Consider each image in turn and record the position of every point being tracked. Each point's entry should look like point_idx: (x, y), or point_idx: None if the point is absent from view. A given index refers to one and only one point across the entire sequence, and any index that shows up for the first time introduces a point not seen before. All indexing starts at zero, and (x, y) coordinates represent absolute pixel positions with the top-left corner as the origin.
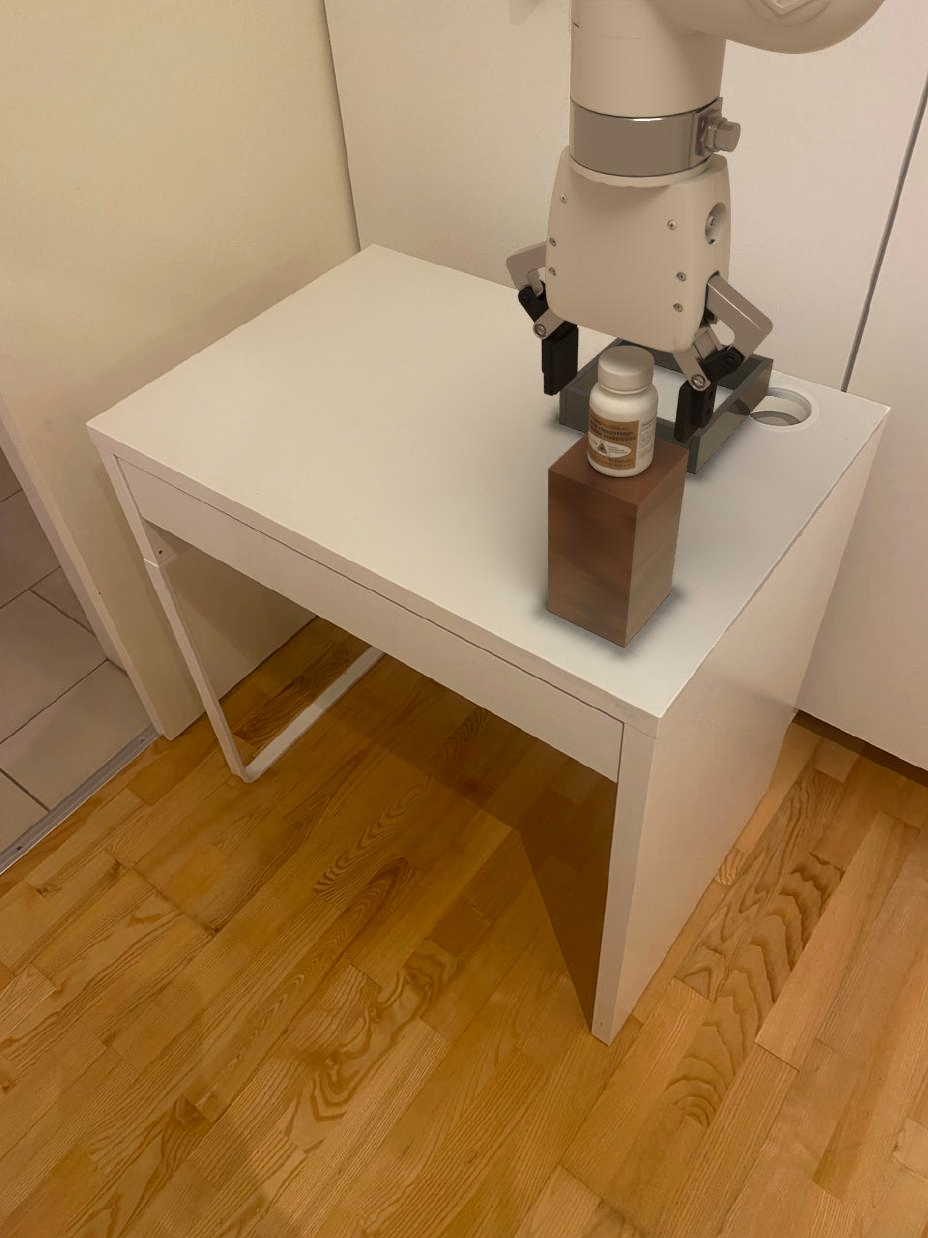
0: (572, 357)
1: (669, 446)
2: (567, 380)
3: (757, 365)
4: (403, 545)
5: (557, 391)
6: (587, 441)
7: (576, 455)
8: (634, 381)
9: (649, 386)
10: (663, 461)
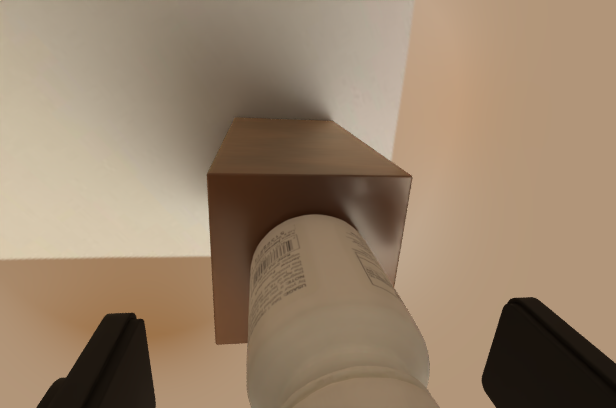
0: (117, 404)
1: (375, 186)
2: (145, 368)
3: None
4: (28, 215)
5: (153, 400)
6: (229, 255)
7: (237, 296)
8: None
9: (408, 365)
10: (382, 230)
